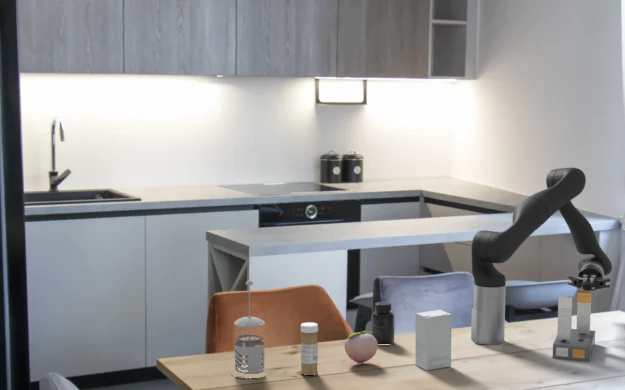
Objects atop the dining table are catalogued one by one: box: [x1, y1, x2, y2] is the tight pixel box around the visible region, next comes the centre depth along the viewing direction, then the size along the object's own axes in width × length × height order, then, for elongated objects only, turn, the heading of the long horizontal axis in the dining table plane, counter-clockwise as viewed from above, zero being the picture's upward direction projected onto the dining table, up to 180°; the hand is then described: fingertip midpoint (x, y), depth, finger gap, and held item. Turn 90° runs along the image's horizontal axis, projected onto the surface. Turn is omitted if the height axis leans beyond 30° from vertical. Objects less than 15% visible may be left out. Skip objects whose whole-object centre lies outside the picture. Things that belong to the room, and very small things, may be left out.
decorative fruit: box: [344, 328, 379, 364], centre depth 252 cm, size 9×8×10 cm
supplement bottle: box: [370, 301, 395, 345], centre depth 274 cm, size 7×7×12 cm
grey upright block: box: [556, 295, 573, 340], centre depth 262 cm, size 2×4×12 cm, turn 69°
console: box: [552, 328, 596, 363], centre depth 267 cm, size 20×10×4 cm, turn 159°
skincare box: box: [415, 309, 452, 371], centre depth 250 cm, size 8×6×15 cm
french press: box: [233, 279, 266, 374], centre depth 243 cm, size 10×12×25 cm
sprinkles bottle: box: [300, 321, 319, 376], centre depth 243 cm, size 5×5×14 cm
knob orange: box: [576, 290, 592, 334], centre depth 269 cm, size 2×4×12 cm, turn 69°
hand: (586, 287), depth 275 cm, fingers closed
